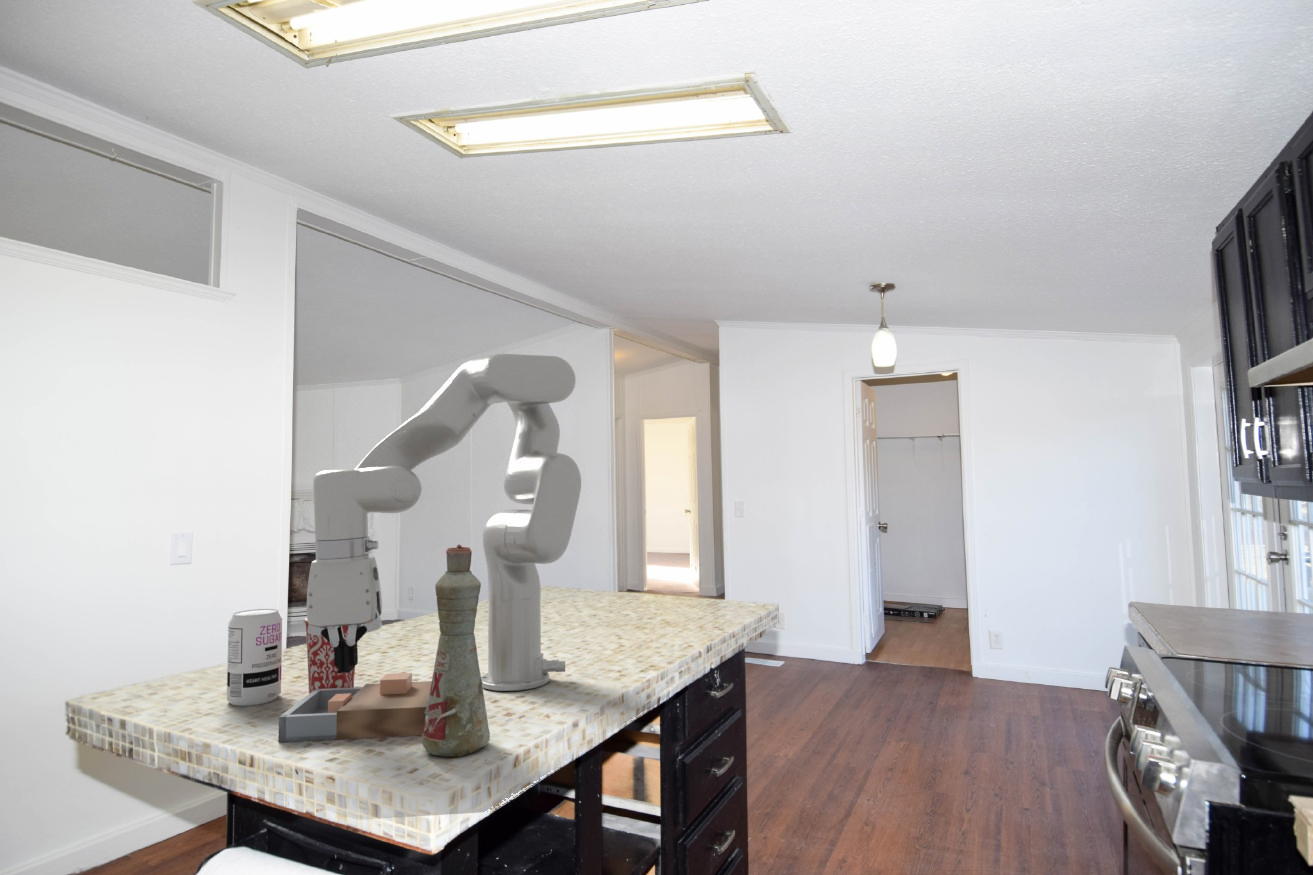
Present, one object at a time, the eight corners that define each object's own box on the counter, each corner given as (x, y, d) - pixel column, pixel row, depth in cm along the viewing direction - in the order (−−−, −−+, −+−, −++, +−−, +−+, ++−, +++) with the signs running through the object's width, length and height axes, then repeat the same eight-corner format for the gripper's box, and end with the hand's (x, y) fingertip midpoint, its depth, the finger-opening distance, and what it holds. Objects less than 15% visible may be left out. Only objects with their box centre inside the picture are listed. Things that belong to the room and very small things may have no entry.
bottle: (485, 758, 99) (484, 545, 101) (415, 761, 99) (416, 547, 100) (494, 736, 108) (493, 541, 110) (429, 739, 107) (430, 542, 109)
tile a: (351, 693, 115) (336, 694, 115) (343, 700, 111) (327, 701, 111) (351, 719, 115) (336, 720, 115) (343, 728, 111) (327, 728, 111)
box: (366, 708, 123) (366, 686, 123) (336, 739, 108) (336, 714, 108) (315, 710, 122) (315, 689, 122) (278, 742, 107) (278, 717, 107)
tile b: (412, 686, 121) (412, 672, 121) (406, 693, 117) (406, 678, 117) (386, 687, 120) (386, 673, 121) (380, 694, 117) (380, 680, 117)
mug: (354, 698, 129) (355, 619, 130) (297, 702, 127) (298, 621, 128) (366, 680, 141) (367, 607, 142) (315, 683, 140) (316, 610, 140)
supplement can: (240, 694, 133) (241, 608, 134) (288, 692, 134) (289, 607, 134) (217, 708, 125) (219, 616, 126) (268, 705, 125) (270, 615, 126)
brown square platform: (447, 705, 124) (447, 680, 124) (428, 734, 109) (428, 706, 110) (366, 708, 123) (366, 683, 123) (336, 739, 108) (336, 710, 108)
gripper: (398, 544, 119) (402, 660, 119) (300, 550, 118) (304, 667, 117) (386, 550, 112) (390, 674, 111) (281, 556, 110) (285, 681, 110)
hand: (346, 670), depth 114 cm, fingers closed
